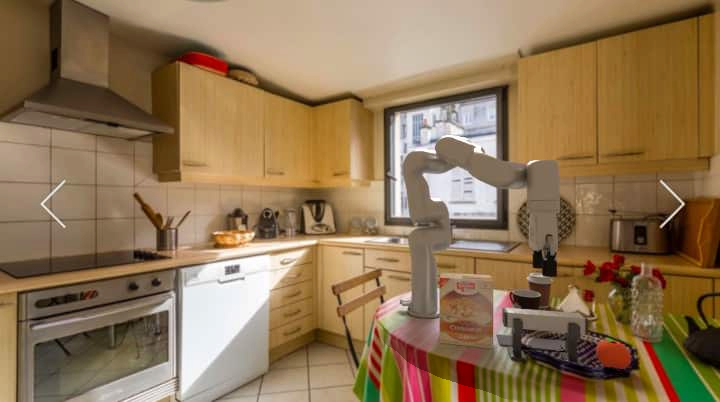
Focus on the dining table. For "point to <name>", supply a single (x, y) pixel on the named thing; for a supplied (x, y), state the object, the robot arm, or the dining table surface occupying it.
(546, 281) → the coffee cup
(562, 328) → the steel rail
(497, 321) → the dining table surface
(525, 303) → the coffee mug
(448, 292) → the coffeecake box
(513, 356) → the left post
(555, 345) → the flat grey plate
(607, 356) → the tomato
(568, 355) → the right post
